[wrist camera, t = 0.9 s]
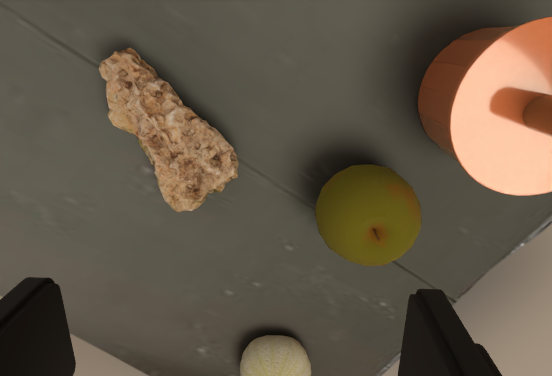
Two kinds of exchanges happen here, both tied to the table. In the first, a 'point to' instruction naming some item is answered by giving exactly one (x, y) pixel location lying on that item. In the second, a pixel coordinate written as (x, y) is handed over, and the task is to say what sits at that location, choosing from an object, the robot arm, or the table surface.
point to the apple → (368, 215)
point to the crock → (449, 82)
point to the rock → (167, 132)
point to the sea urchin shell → (275, 357)
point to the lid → (507, 112)
